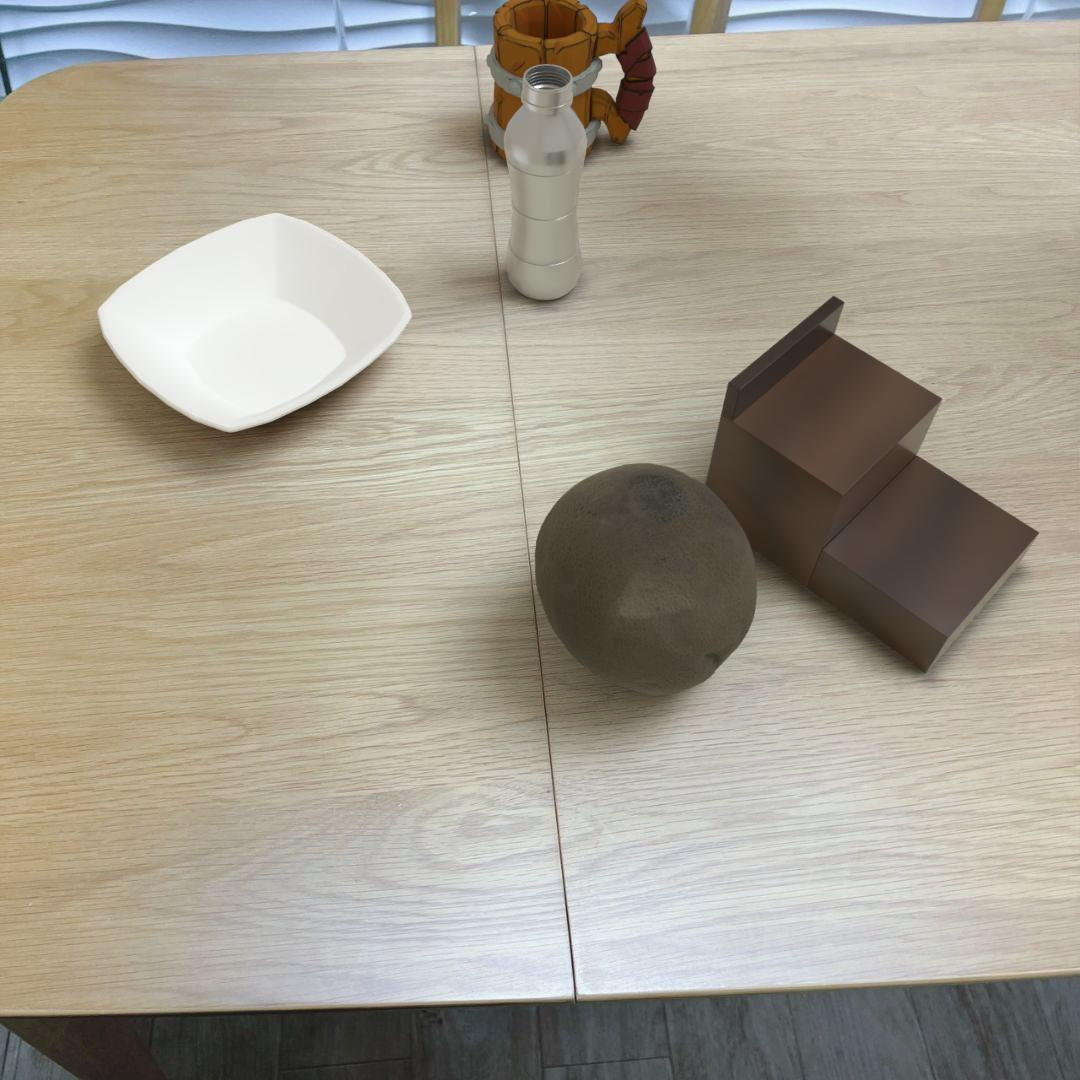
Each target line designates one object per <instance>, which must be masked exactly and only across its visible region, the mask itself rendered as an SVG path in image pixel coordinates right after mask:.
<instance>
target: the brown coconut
mask: <svg viewBox="0 0 1080 1080" xmlns="http://www.w3.org/2000/svg"><path fill="white" fill-rule="evenodd" d="M755 559H756V558H755V556H754V552H753V548H752V547H751V546H750V543H749V541H748V539H747V536H746V534H745V532H744V531H743V529H742V527H741V526H740V524H739V523H738V521H737V520H736V518H735V517H734V516H733V514H732V513H731V511H730V510H729V509H728V508H727V506H726V505H725V504H724V503H723V501H722V500H721V499H720V498H719V497H718V496H717V495H716V494H715V493H714V492H713V491H712V490H711V489H710V488H708V487H707V486H706V485H705V483H703V482H701V481H699V480H698V479H695V478H693V477H692V476H690V475H688V474H686V473H684V472H682V471H680V470H678V469H675V468H673V467H670V466H666V465H661V464H657V463H652V462H635V463H626V464H621V465H618V466H614V467H611V468H608V469H607V468H606V469H605V470H602V471H600V472H596V473H595V474H591V475H590V476H588V477H585V478H584V479H582V480H580V481H579V482H577V483H576V484H574V485H573V486H571V488H569V490H567V491H566V492H565V493H564V494H562V496H560V498H558V500H557V501H556V502H555V504H553V506H552V507H551V509H550V510H549V512H548V513H547V514H546V516H545V517H544V520H543V522H542V524H541V526H540V528H539V530H538V533H537V536H536V541H535V549H534V575H535V576H534V577H535V578H534V580H535V585H536V590H537V595H538V596H539V599H540V602H541V605H542V608H543V611H544V615H545V616H546V619H547V621H548V622H549V624H550V627H551V629H552V630H553V631H554V633H555V635H556V636H557V638H558V639H559V640H560V642H561V643H562V644H563V645H564V647H565V648H566V650H567V651H568V652H569V653H570V655H572V657H573V658H574V659H575V660H576V661H577V662H578V663H580V664H581V665H582V666H583V667H584V668H586V669H587V670H589V671H590V672H592V673H594V674H595V675H596V676H598V677H600V678H601V679H603V680H605V681H608V682H609V683H611V684H613V685H615V686H618V687H622V688H624V689H627V690H631V691H634V692H636V693H637V692H638V693H641V694H647V695H671V694H672V695H673V694H677V693H681V692H684V691H687V690H690V689H692V688H695V687H697V686H699V685H701V684H703V683H705V682H706V681H707V680H708V679H710V678H711V677H712V676H713V675H714V674H715V672H716V671H717V670H718V669H719V668H720V666H721V665H723V663H724V662H725V661H727V659H729V657H730V656H731V655H732V654H733V653H734V652H735V651H736V650H737V649H738V648H739V647H740V645H741V644H742V643H743V641H744V640H745V638H746V636H747V634H748V633H749V631H750V629H751V626H752V624H753V621H754V618H755V614H756V609H757V600H758V599H757V597H758V591H757V587H758V586H757V585H758V583H757V582H758V581H757V570H756V568H757V567H756V560H755Z"/></svg>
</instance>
